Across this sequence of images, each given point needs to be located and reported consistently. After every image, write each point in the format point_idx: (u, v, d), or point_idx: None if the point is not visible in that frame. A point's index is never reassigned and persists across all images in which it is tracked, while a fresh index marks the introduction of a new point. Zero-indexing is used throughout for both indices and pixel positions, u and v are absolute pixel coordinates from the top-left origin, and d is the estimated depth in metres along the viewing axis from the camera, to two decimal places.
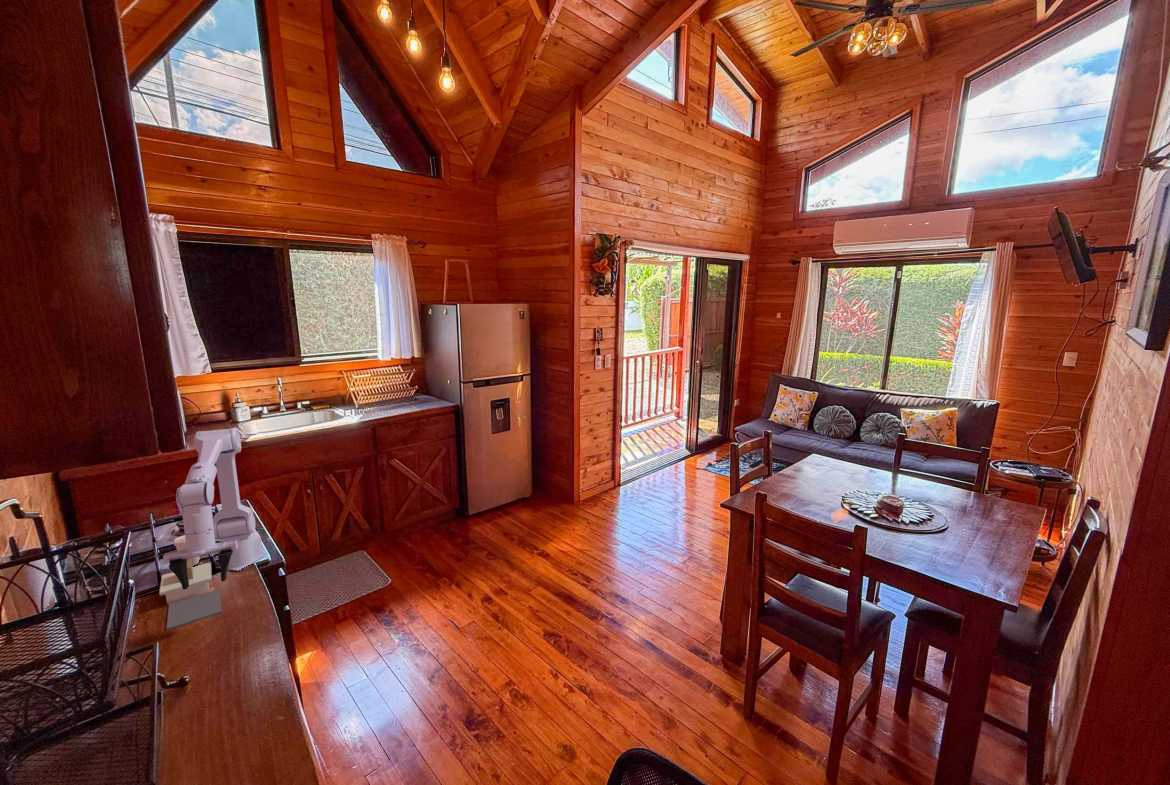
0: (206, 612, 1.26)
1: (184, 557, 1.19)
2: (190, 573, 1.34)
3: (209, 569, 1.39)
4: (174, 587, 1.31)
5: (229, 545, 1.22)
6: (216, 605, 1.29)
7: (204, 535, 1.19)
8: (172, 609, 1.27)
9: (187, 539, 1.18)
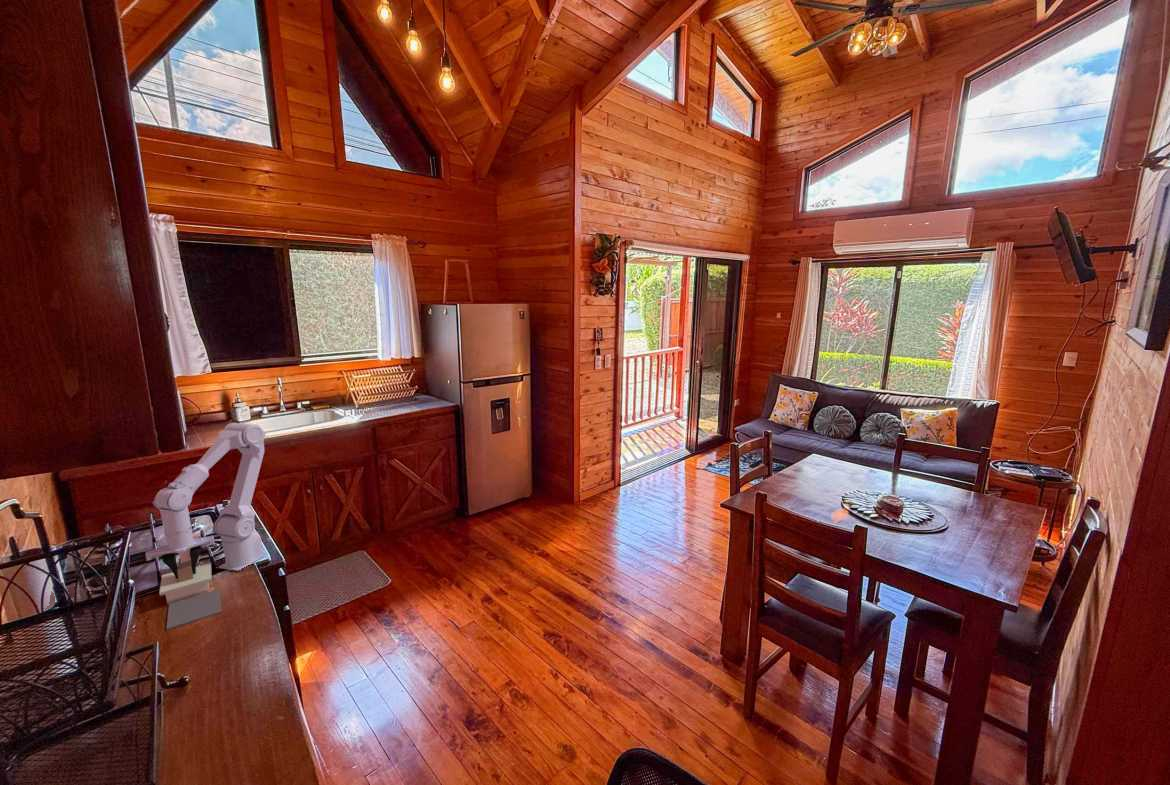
0: (206, 612, 1.26)
1: None
2: (190, 573, 1.34)
3: (209, 569, 1.39)
4: (174, 587, 1.31)
5: (207, 540, 1.37)
6: (216, 605, 1.29)
7: (185, 534, 1.32)
8: (172, 609, 1.27)
9: (168, 538, 1.31)
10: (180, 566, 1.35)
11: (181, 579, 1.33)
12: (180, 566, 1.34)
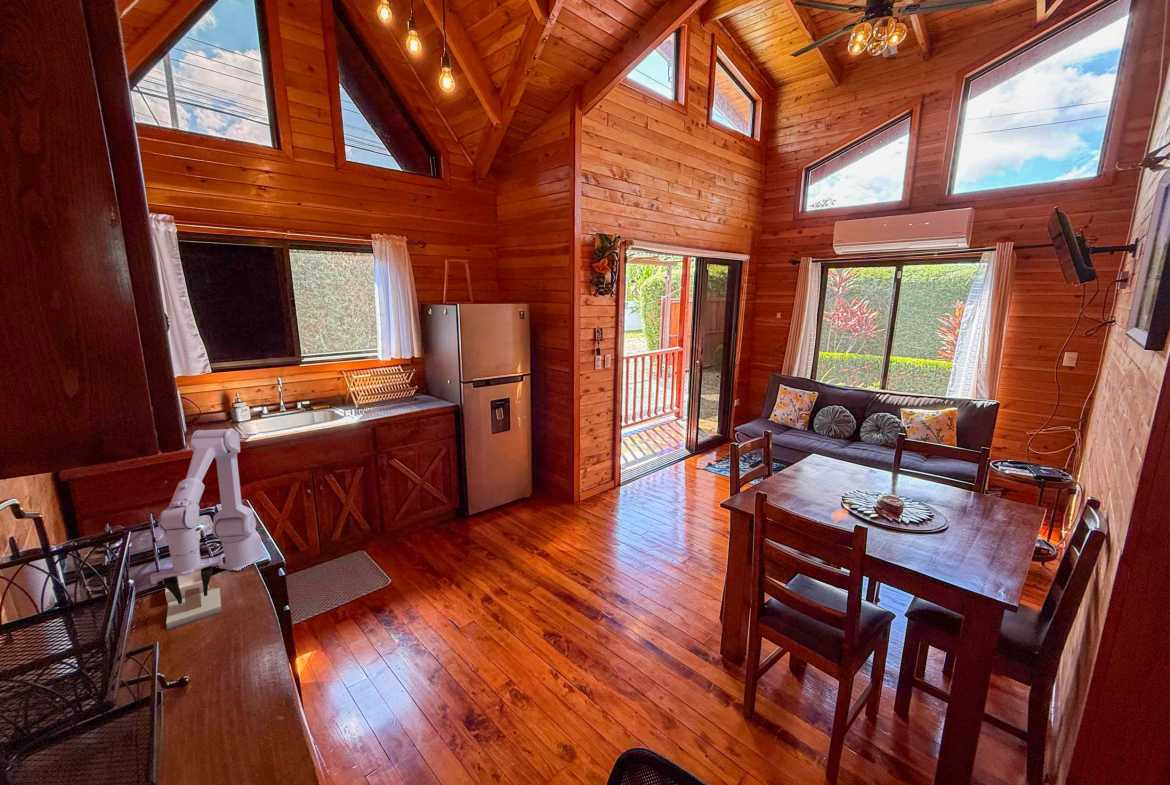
0: None
1: None
2: (198, 601, 1.27)
3: (218, 596, 1.32)
4: (182, 616, 1.23)
5: (216, 561, 1.29)
6: None
7: (192, 555, 1.24)
8: None
9: (175, 560, 1.23)
10: (188, 593, 1.27)
11: (189, 608, 1.25)
12: (188, 593, 1.27)
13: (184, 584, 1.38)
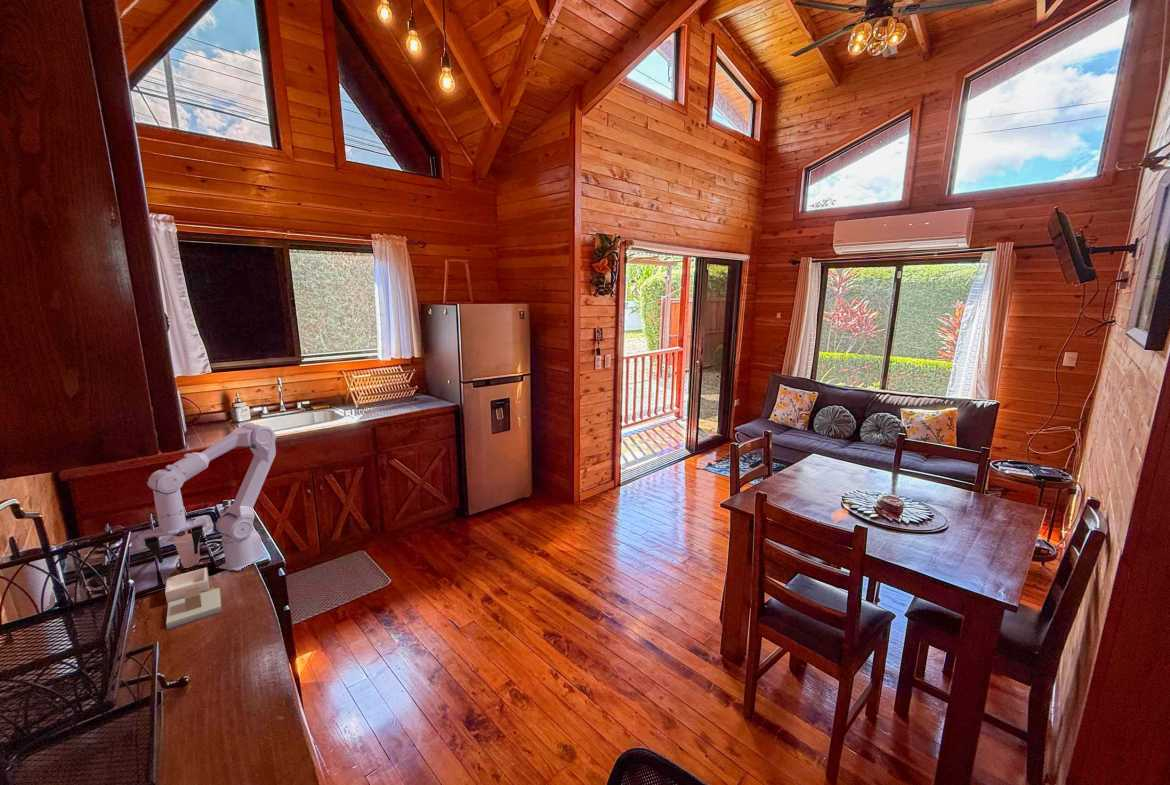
0: None
1: (158, 535, 1.33)
2: (198, 601, 1.27)
3: (218, 596, 1.32)
4: (182, 616, 1.23)
5: (200, 523, 1.38)
6: None
7: (177, 516, 1.33)
8: None
9: (161, 520, 1.31)
10: (188, 593, 1.27)
11: (189, 608, 1.25)
12: (188, 593, 1.27)
13: (184, 584, 1.38)
